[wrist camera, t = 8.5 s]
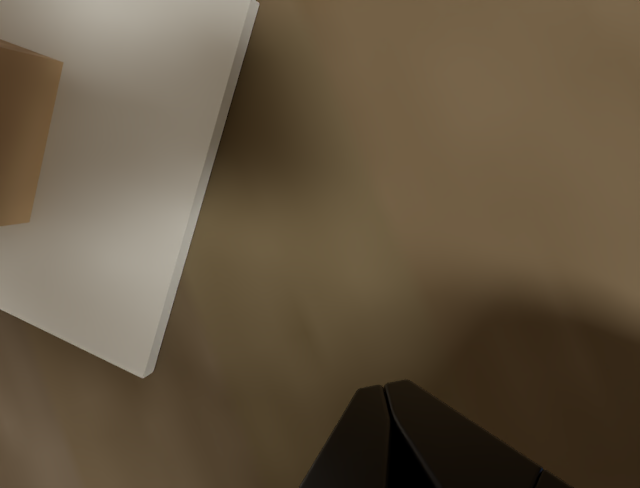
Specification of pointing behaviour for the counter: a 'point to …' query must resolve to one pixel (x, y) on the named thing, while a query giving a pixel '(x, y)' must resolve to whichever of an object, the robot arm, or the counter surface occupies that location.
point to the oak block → (23, 126)
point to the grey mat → (120, 164)
